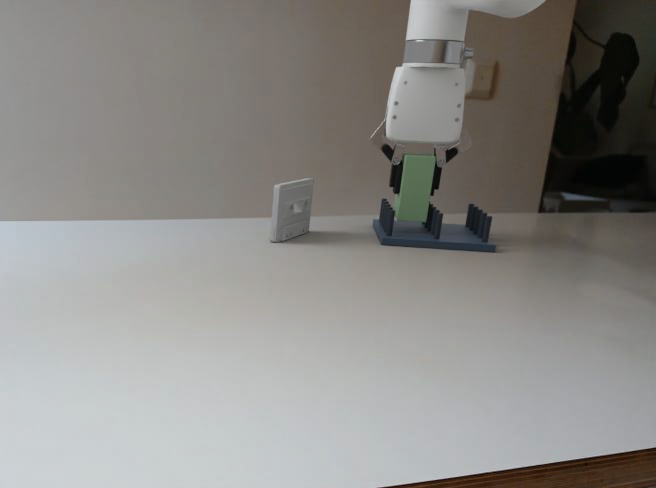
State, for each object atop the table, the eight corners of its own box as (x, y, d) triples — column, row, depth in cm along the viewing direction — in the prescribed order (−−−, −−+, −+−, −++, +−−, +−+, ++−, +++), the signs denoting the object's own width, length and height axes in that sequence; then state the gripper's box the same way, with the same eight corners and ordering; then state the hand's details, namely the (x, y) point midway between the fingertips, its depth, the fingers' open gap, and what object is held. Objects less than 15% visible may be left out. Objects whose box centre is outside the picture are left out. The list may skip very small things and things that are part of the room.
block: (420, 215, 110) (429, 153, 107) (426, 222, 105) (436, 156, 102) (393, 214, 111) (401, 152, 108) (397, 220, 105) (406, 155, 102)
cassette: (278, 243, 100) (283, 185, 98) (266, 241, 101) (270, 184, 99) (312, 231, 110) (317, 178, 107) (300, 229, 111) (305, 177, 108)
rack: (471, 231, 115) (476, 202, 113) (495, 252, 100) (501, 218, 98) (372, 225, 117) (376, 196, 115) (381, 244, 102) (385, 212, 100)
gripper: (490, 59, 102) (468, 193, 109) (367, 56, 105) (352, 187, 111) (503, 57, 95) (478, 200, 102) (371, 53, 98) (354, 193, 104)
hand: (412, 192), depth 107 cm, fingers closed on block, 4 cm apart
